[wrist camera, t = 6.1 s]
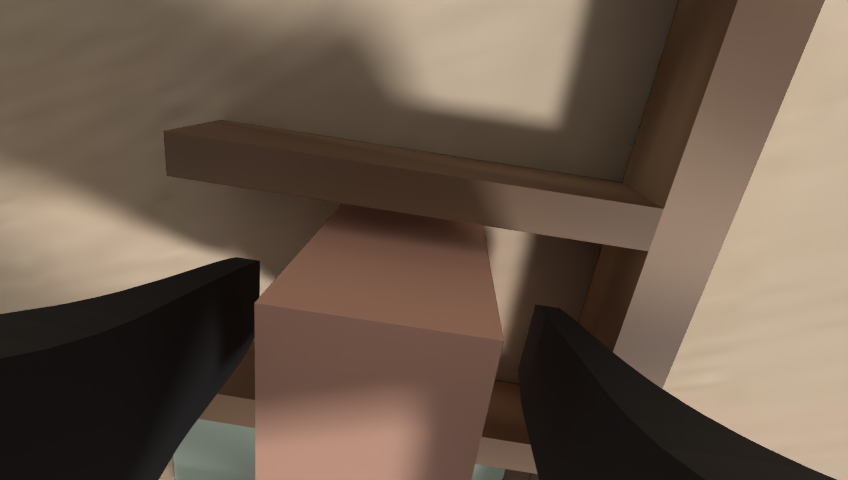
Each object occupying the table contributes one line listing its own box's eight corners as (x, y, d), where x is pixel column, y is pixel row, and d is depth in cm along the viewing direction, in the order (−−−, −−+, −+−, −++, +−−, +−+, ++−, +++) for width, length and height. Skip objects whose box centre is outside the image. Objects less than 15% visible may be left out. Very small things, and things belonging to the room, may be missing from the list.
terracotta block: (459, 340, 14) (462, 518, 8) (335, 321, 14) (255, 485, 8) (482, 222, 12) (503, 340, 7) (343, 202, 13) (254, 302, 7)
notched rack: (543, 560, 17) (558, 637, 15) (180, 500, 17) (137, 566, 15) (792, -128, 9) (906, -195, 7) (121, -226, 9) (12, -326, 7)
